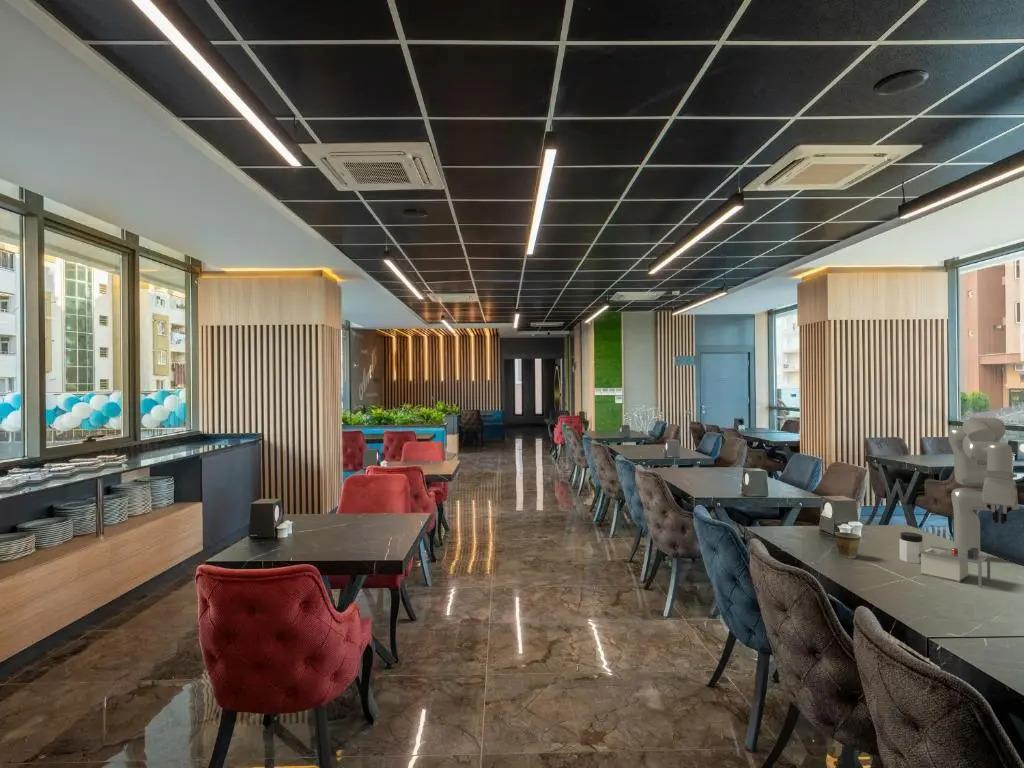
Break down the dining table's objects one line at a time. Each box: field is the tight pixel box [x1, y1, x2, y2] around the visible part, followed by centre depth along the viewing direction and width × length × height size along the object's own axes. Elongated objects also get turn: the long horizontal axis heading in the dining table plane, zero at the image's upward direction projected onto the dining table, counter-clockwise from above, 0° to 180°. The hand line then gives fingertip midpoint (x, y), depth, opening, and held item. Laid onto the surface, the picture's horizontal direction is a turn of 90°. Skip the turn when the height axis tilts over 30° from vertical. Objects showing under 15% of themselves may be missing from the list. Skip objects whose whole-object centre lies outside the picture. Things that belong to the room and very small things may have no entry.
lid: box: [940, 547, 989, 564], centre depth 236 cm, size 11×13×4 cm
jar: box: [899, 531, 924, 565], centre depth 262 cm, size 9×8×12 cm
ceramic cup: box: [834, 531, 861, 559], centre depth 271 cm, size 13×10×10 cm
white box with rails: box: [918, 545, 991, 589], centre depth 239 cm, size 14×22×10 cm, turn 39°
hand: (999, 522), depth 228 cm, fingers closed
